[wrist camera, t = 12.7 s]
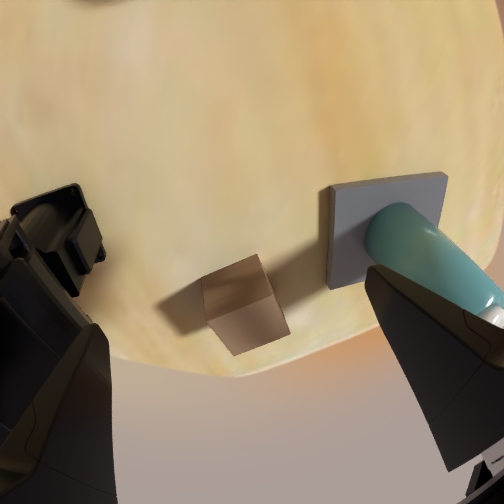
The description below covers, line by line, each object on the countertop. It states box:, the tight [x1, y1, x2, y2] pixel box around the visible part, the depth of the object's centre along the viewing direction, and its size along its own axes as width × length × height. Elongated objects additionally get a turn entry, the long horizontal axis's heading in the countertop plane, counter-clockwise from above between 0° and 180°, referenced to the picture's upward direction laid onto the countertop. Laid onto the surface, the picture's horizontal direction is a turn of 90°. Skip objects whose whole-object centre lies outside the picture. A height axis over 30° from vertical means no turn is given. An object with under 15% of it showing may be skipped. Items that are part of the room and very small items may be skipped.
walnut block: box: [201, 254, 291, 356], centre depth 24 cm, size 5×5×5 cm
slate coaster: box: [326, 172, 448, 290], centre depth 26 cm, size 12×10×1 cm
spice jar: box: [364, 202, 504, 328], centre depth 20 cm, size 6×6×13 cm
